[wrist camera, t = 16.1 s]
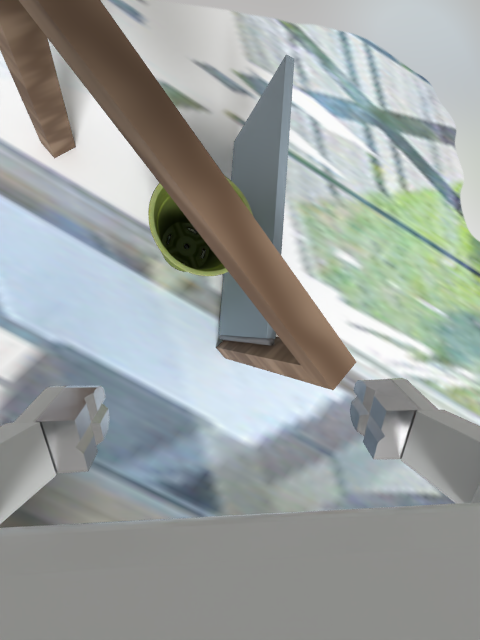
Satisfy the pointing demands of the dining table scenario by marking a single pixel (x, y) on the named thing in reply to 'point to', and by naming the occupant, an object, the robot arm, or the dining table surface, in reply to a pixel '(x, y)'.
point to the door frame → (168, 171)
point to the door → (260, 196)
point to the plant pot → (182, 236)
